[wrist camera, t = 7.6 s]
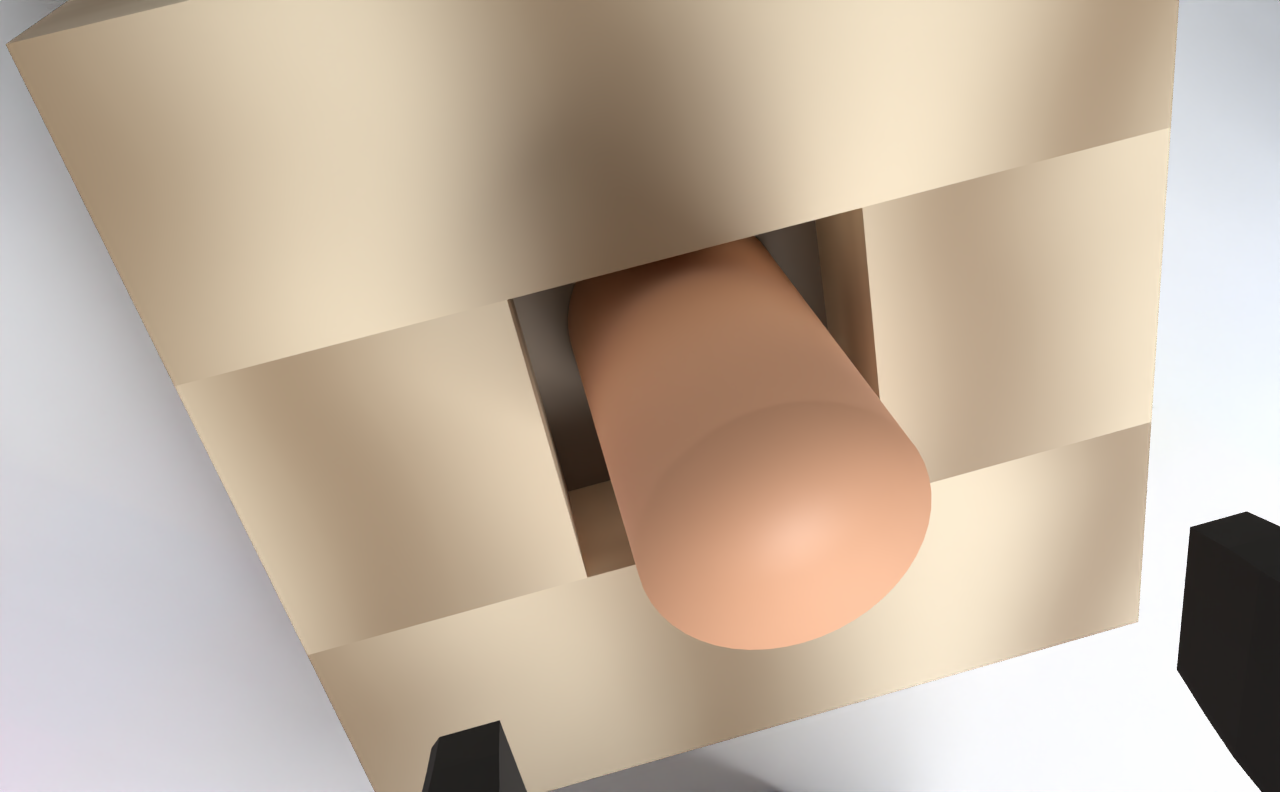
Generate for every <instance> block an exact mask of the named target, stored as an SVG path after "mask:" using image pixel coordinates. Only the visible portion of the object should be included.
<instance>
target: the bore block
mask: <svg viewBox="0 0 1280 792" xmlns="http://www.w3.org/2000/svg"><path fill="white" fill-rule="evenodd" d="M1178 7H1179V0H69V1H67V2H66V3H64V4H63V5H61V6H60V7H58V8H57V9H56V10H54V11H53V12H51V13H50V14H48V15H47V16H46V17H44V18H43V19H41V20H40V21H38V22H37V23H35V24H34V25H33V26H31V27H30V28H28V29H27V30H25V31H24V32H23V33H21V34H20V35H18V36H17V37H15V38H14V39H12V40H11V41H10V42H8V43H7V44H6V46H7V48H8V50H9V52H10V54H11V56H12V58H13V60H14V62H15V64H16V66H17V68H18V70H19V72H20V74H21V76H22V78H23V80H24V82H25V84H26V86H27V89H28V91H29V93H30V95H31V97H32V99H33V101H34V103H35V105H36V107H37V109H38V111H39V113H40V115H41V117H42V119H43V121H44V123H45V125H46V127H47V129H48V131H49V133H50V135H51V137H52V139H53V141H54V143H55V145H56V147H57V149H58V151H59V153H60V155H61V157H62V159H63V161H64V163H65V165H66V167H67V169H68V172H69V174H70V176H71V178H72V180H73V182H74V184H75V186H76V188H77V190H78V192H79V194H80V196H81V198H82V200H83V202H84V204H85V206H86V208H87V210H88V212H89V214H90V216H91V218H92V220H93V222H94V224H95V226H96V228H97V230H98V232H99V234H100V236H101V238H102V240H103V242H104V244H105V246H106V248H107V250H108V252H109V254H110V257H111V259H112V261H113V263H114V265H115V267H116V269H117V271H118V273H119V275H120V277H121V279H122V281H123V283H124V285H125V287H126V289H127V291H128V293H129V295H130V297H131V299H132V301H133V303H134V305H135V307H136V309H137V311H138V313H139V315H140V317H141V319H142V321H143V323H144V325H145V327H146V329H147V331H148V333H149V335H150V337H151V340H152V342H153V344H154V346H155V348H156V350H157V352H158V354H159V356H160V358H161V360H162V362H163V364H164V366H165V368H166V370H167V372H168V374H169V376H170V378H171V380H172V382H173V384H174V386H175V388H176V390H177V392H178V394H179V396H180V398H181V400H182V402H183V404H184V406H185V408H186V410H187V412H188V414H189V416H190V418H191V420H192V423H193V425H194V427H195V429H196V431H197V433H198V435H199V437H200V439H201V441H202V443H203V445H204V447H205V449H206V451H207V453H208V455H209V457H210V459H211V461H212V463H213V465H214V467H215V469H216V471H217V473H218V475H219V477H220V479H221V481H222V483H223V485H224V487H225V489H226V491H227V493H228V495H229V497H230V499H231V501H232V503H233V506H234V508H235V510H236V512H237V514H238V516H239V518H240V520H241V522H242V524H243V526H244V528H245V530H246V532H247V534H248V536H249V538H250V540H251V542H252V544H253V546H254V548H255V550H256V552H257V554H258V556H259V558H260V560H261V562H262V564H263V566H264V568H265V570H266V572H267V574H268V576H269V578H270V580H271V582H272V584H273V586H274V589H275V591H276V593H277V595H278V597H279V599H280V601H281V603H282V605H283V607H284V609H285V611H286V613H287V615H288V617H289V619H290V621H291V623H292V625H293V627H294V629H295V631H296V633H297V635H298V637H299V639H300V641H301V643H302V645H303V647H304V649H305V651H306V653H307V655H308V657H309V659H310V661H311V663H312V665H313V667H314V669H315V671H316V674H317V676H318V678H319V680H320V682H321V684H322V686H323V688H324V690H325V692H326V694H327V696H328V698H329V700H330V702H331V704H332V706H333V708H334V710H335V712H336V714H337V716H338V718H339V720H340V722H341V724H342V726H343V728H344V730H345V732H346V734H347V736H348V738H349V740H350V742H351V744H352V746H353V748H354V750H355V752H356V754H357V757H358V759H359V761H360V763H361V765H362V767H363V769H364V771H365V773H366V775H367V777H368V779H369V781H370V783H371V785H372V787H373V789H374V791H375V792H422V789H423V785H424V781H425V776H426V772H427V767H428V762H429V757H430V752H431V748H432V746H433V745H434V744H435V742H436V741H437V740H438V738H439V737H441V736H445V735H448V734H452V733H455V732H459V731H463V730H466V729H470V728H473V727H477V726H480V725H484V724H488V723H491V722H495V721H498V720H500V722H501V725H502V727H503V730H504V733H505V735H506V738H507V741H508V743H509V746H510V748H511V751H512V754H513V756H514V759H515V762H516V764H517V767H518V769H519V772H520V775H521V777H522V780H523V783H524V785H525V788H526V790H527V792H548V791H552V790H555V789H559V788H562V787H565V786H569V785H572V784H576V783H579V782H583V781H586V780H590V779H593V778H597V777H600V776H604V775H607V774H611V773H614V772H618V771H621V770H625V769H628V768H632V767H635V766H638V765H642V764H645V763H649V762H652V761H656V760H659V759H663V758H666V757H670V756H673V755H677V754H680V753H684V752H687V751H691V750H694V749H698V748H701V747H705V746H708V745H711V744H715V743H718V742H722V741H725V740H729V739H732V738H736V737H739V736H743V735H746V734H750V733H753V732H757V731H760V730H764V729H767V728H771V727H774V726H778V725H781V724H785V723H788V722H791V721H795V720H798V719H802V718H805V717H809V716H812V715H816V714H819V713H823V712H826V711H830V710H833V709H837V708H840V707H844V706H847V705H851V704H854V703H858V702H861V701H864V700H868V699H871V698H875V697H878V696H882V695H885V694H889V693H892V692H896V691H899V690H903V689H906V688H910V687H913V686H917V685H920V684H924V683H927V682H931V681H934V680H937V679H941V678H944V677H948V676H951V675H955V674H958V673H962V672H965V671H969V670H972V669H976V668H979V667H983V666H986V665H990V664H993V663H997V662H1000V661H1004V660H1007V659H1010V658H1014V657H1017V656H1021V655H1024V654H1028V653H1031V652H1035V651H1038V650H1042V649H1045V648H1049V647H1052V646H1056V645H1059V644H1063V643H1066V642H1070V641H1073V640H1077V639H1080V638H1083V637H1087V636H1090V635H1094V634H1097V633H1101V632H1104V631H1108V630H1111V629H1115V628H1118V627H1122V626H1125V625H1129V624H1132V623H1136V622H1138V616H1139V600H1140V585H1141V570H1142V555H1143V540H1144V524H1145V509H1146V494H1147V479H1148V464H1149V448H1150V433H1151V418H1152V403H1153V388H1154V372H1155V357H1156V342H1157V327H1158V312H1159V296H1160V281H1161V266H1162V251H1163V235H1164V220H1165V205H1166V190H1167V175H1168V159H1169V144H1170V129H1171V114H1172V99H1173V83H1174V68H1175V53H1176V38H1177V23H1178ZM751 236H755V237H756V238H757V239H758V240H759V241H760V242H761V243H762V244H763V246H764V247H765V248H766V250H767V251H768V252H769V254H770V255H771V256H772V258H773V259H774V260H775V261H776V263H777V264H778V265H779V267H780V268H781V269H782V271H783V272H784V273H785V275H786V276H787V277H788V279H789V280H790V281H791V283H792V284H793V285H794V287H795V288H796V289H797V291H798V292H799V293H800V295H801V296H802V297H803V299H804V300H805V301H806V303H807V304H808V305H809V306H810V308H811V309H812V310H813V312H814V313H815V314H816V316H817V317H818V318H819V320H820V321H821V322H822V324H823V325H824V326H825V328H826V329H827V330H828V332H829V333H830V334H831V336H832V337H833V338H834V340H835V341H836V342H837V344H838V345H839V346H840V348H841V349H842V350H843V351H844V353H845V354H846V355H847V357H848V358H849V359H850V361H851V362H852V363H853V365H854V366H855V367H856V369H857V370H858V371H859V373H860V374H861V375H862V377H863V378H864V379H865V381H866V382H867V383H868V385H869V386H870V387H871V389H872V390H873V391H874V393H875V394H876V395H877V396H878V398H879V399H880V400H881V402H882V403H883V404H884V406H885V407H886V408H887V410H888V411H889V412H890V414H891V415H892V416H893V418H894V419H895V420H896V422H897V423H898V424H899V426H900V427H901V428H902V430H903V431H904V432H905V434H906V435H907V436H908V438H909V439H910V440H911V441H912V443H913V444H914V445H915V447H916V448H917V450H918V451H919V453H920V455H921V457H922V459H923V461H924V463H925V466H926V469H927V472H928V475H929V479H930V486H931V513H930V519H929V525H928V528H927V531H926V534H925V538H924V541H923V543H922V545H921V547H920V549H919V551H918V554H917V556H916V557H915V559H914V561H913V562H912V564H911V566H910V567H909V569H908V570H907V572H906V573H905V574H904V576H903V577H902V578H901V579H900V581H899V582H898V583H897V584H896V586H895V587H894V588H893V589H892V590H891V591H890V592H889V593H888V594H887V595H886V596H885V597H884V598H883V599H882V600H880V601H879V602H878V603H877V604H876V605H874V606H873V607H872V608H871V609H870V610H868V611H867V612H865V613H864V614H862V615H861V616H860V617H858V618H857V619H855V620H854V621H852V622H850V623H848V624H846V625H845V626H843V627H841V628H839V629H837V630H835V631H833V632H831V633H828V634H826V635H824V636H822V637H819V638H816V639H813V640H810V641H807V642H804V643H800V644H796V645H792V646H787V647H781V648H774V649H763V650H744V649H731V648H726V647H721V646H716V645H713V644H709V643H706V642H703V641H700V640H698V639H696V638H694V637H692V636H689V635H687V634H685V633H684V632H682V631H681V630H679V629H678V628H676V627H675V626H673V625H672V624H671V623H669V622H668V621H667V620H666V619H665V618H664V617H663V616H662V615H661V614H660V613H659V612H658V611H657V609H656V608H655V607H654V606H653V604H652V603H651V602H650V600H649V598H648V596H647V594H646V593H645V591H644V589H643V586H642V583H641V580H640V577H639V575H638V571H637V568H636V564H635V561H634V558H633V554H632V551H631V547H630V544H629V540H628V537H627V534H626V530H625V527H624V523H623V520H622V517H621V513H620V510H619V506H618V503H617V500H616V496H615V493H614V489H613V486H612V483H611V479H610V476H609V472H608V469H607V465H606V462H605V459H604V455H603V452H602V448H601V445H600V442H599V438H598V435H597V431H596V428H595V425H594V421H593V418H592V414H591V411H590V408H589V404H588V401H587V397H586V394H585V390H584V387H583V384H582V380H581V377H580V373H579V370H578V367H577V363H576V360H575V356H574V353H573V350H572V346H571V343H570V337H569V332H568V310H569V302H570V299H571V295H572V291H573V288H574V286H575V283H576V282H578V281H581V280H585V279H589V278H593V277H597V276H601V275H605V274H608V273H612V272H616V271H620V270H624V269H628V268H632V267H635V266H639V265H643V264H647V263H651V262H655V261H658V260H662V259H666V258H670V257H674V256H678V255H682V254H685V253H689V252H693V251H697V250H701V249H705V248H708V247H712V246H716V245H720V244H724V243H728V242H732V241H735V240H739V239H743V238H747V237H751Z"/></svg>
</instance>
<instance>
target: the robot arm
mask: <svg viewBox="0 0 1280 792" xmlns="http://www.w3.org/2000/svg"><path fill="white" fill-rule="evenodd" d="M1177 671H1178V672H1179V674H1180V675H1181V677H1182V678H1183V680H1184V682H1185V683H1186V685H1187V686H1188V688H1189V690H1190V691H1191V693H1192V694H1193V696H1194V698H1195V699H1196V701H1197V702H1198V704H1199V706H1200V707H1201V709H1202V710H1203V712H1204V714H1205V715H1206V717H1207V718H1208V720H1209V721H1210V723H1211V724H1212V726H1213V727H1214V729H1215V730H1216V732H1217V733H1218V735H1219V736H1220V738H1221V739H1222V741H1223V742H1224V744H1225V745H1226V747H1227V748H1228V750H1229V751H1230V753H1231V754H1232V756H1233V757H1234V758H1235V760H1236V761H1237V762H1238V763H1239V765H1240V766H1241V767H1242V768H1243V770H1244V771H1245V772H1246V773H1247V775H1248V776H1249V777H1250V778H1251V779H1252V781H1253V782H1254V783H1255V784H1256V786H1257V787H1258V788H1259V789H1260V790H1261V792H1280V526H1278V525H1275V524H1273V523H1271V522H1269V521H1267V520H1264V519H1262V518H1260V517H1258V516H1256V515H1253V514H1251V513H1249V512H1243V513H1240V514H1236V515H1232V516H1229V517H1225V518H1222V519H1218V520H1215V521H1211V522H1207V523H1204V524H1200V525H1197V526H1193V527H1190V536H1189V546H1188V557H1187V567H1186V578H1185V589H1184V599H1183V610H1182V621H1181V631H1180V642H1179V653H1178V663H1177ZM422 792H527V790H526V788H525V785H524V783H523V780H522V777H521V775H520V772H519V769H518V767H517V764H516V762H515V759H514V756H513V754H512V751H511V748H510V746H509V743H508V741H507V738H506V735H505V733H504V730H503V727H502V725H501V722H500V720H498V721H495V722H491V723H488V724H484V725H480V726H477V727H473V728H470V729H466V730H463V731H459V732H455V733H452V734H448V735H445V736H441V737H439V738H438V740H437V741H436V742H435V744H434V745H433V746H432V748H431V752H430V757H429V762H428V767H427V772H426V776H425V781H424V785H423V789H422Z"/></svg>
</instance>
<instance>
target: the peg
mask: <svg viewBox="0 0 1280 792" xmlns="http://www.w3.org/2000/svg"><path fill="white" fill-rule="evenodd" d="M568 332H569V337H570V343H571V346H572V350H573V353H574V356H575V360H576V363H577V367H578V370H579V373H580V377H581V380H582V384H583V387H584V390H585V394H586V397H587V401H588V404H589V408H590V411H591V414H592V418H593V421H594V425H595V428H596V431H597V435H598V438H599V442H600V445H601V448H602V452H603V455H604V459H605V462H606V465H607V469H608V472H609V476H610V479H611V483H612V486H613V489H614V493H615V496H616V500H617V503H618V506H619V510H620V513H621V517H622V520H623V523H624V527H625V530H626V534H627V537H628V540H629V544H630V547H631V551H632V554H633V558H634V561H635V564H636V568H637V571H638V575H639V577H640V580H641V583H642V586H643V589H644V591H645V593H646V594H647V596H648V598H649V600H650V602H651V603H652V604H653V606H654V607H655V608H656V609H657V611H658V612H659V613H660V614H661V615H662V616H663V617H664V618H665V619H666V620H667V621H668V622H669V623H671V624H672V625H673V626H675V627H676V628H678V629H679V630H681V631H682V632H684V633H685V634H687V635H689V636H692V637H694V638H696V639H698V640H700V641H703V642H706V643H709V644H713V645H716V646H721V647H726V648H731V649H744V650H763V649H774V648H781V647H787V646H792V645H796V644H800V643H804V642H807V641H810V640H813V639H816V638H819V637H822V636H824V635H826V634H828V633H831V632H833V631H835V630H837V629H839V628H841V627H843V626H845V625H846V624H848V623H850V622H852V621H854V620H855V619H857V618H858V617H860V616H861V615H862V614H864V613H865V612H867V611H868V610H870V609H871V608H872V607H873V606H874V605H876V604H877V603H878V602H879V601H880V600H882V599H883V598H884V597H885V596H886V595H887V594H888V593H889V592H890V591H891V590H892V589H893V588H894V587H895V586H896V584H897V583H898V582H899V581H900V579H901V578H902V577H903V576H904V574H905V573H906V572H907V570H908V569H909V567H910V566H911V564H912V562H913V561H914V559H915V557H916V556H917V554H918V551H919V549H920V547H921V545H922V543H923V541H924V538H925V534H926V531H927V528H928V525H929V519H930V513H931V486H930V479H929V475H928V472H927V469H926V466H925V463H924V461H923V459H922V457H921V455H920V453H919V451H918V450H917V448H916V447H915V445H914V444H913V443H912V441H911V440H910V439H909V438H908V436H907V435H906V434H905V432H904V431H903V430H902V428H901V427H900V426H899V424H898V423H897V422H896V420H895V419H894V418H893V416H892V415H891V414H890V412H889V411H888V410H887V408H886V407H885V406H884V404H883V403H882V402H881V400H880V399H879V398H878V396H877V395H876V394H875V393H874V391H873V390H872V389H871V387H870V386H869V385H868V383H867V382H866V381H865V379H864V378H863V377H862V375H861V374H860V373H859V371H858V370H857V369H856V367H855V366H854V365H853V363H852V362H851V361H850V359H849V358H848V357H847V355H846V354H845V353H844V351H843V350H842V349H841V348H840V346H839V345H838V344H837V342H836V341H835V340H834V338H833V337H832V336H831V334H830V333H829V332H828V330H827V329H826V328H825V326H824V325H823V324H822V322H821V321H820V320H819V318H818V317H817V316H816V314H815V313H814V312H813V310H812V309H811V308H810V306H809V305H808V304H807V303H806V301H805V300H804V299H803V297H802V296H801V295H800V293H799V292H798V291H797V289H796V288H795V287H794V285H793V284H792V283H791V281H790V280H789V279H788V277H787V276H786V275H785V273H784V272H783V271H782V269H781V268H780V267H779V265H778V264H777V263H776V261H775V260H774V259H773V258H772V256H771V255H770V254H769V252H768V251H767V250H766V248H765V247H764V246H763V244H762V243H761V242H760V241H759V240H758V239H757V238H756V237H755V236H751V237H747V238H743V239H739V240H735V241H732V242H728V243H724V244H720V245H716V246H712V247H708V248H705V249H701V250H697V251H693V252H689V253H685V254H682V255H678V256H674V257H670V258H666V259H662V260H658V261H655V262H651V263H647V264H643V265H639V266H635V267H632V268H628V269H624V270H620V271H616V272H612V273H608V274H605V275H601V276H597V277H593V278H589V279H585V280H581V281H578V282H576V283H575V286H574V288H573V291H572V295H571V299H570V302H569V310H568Z"/></svg>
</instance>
